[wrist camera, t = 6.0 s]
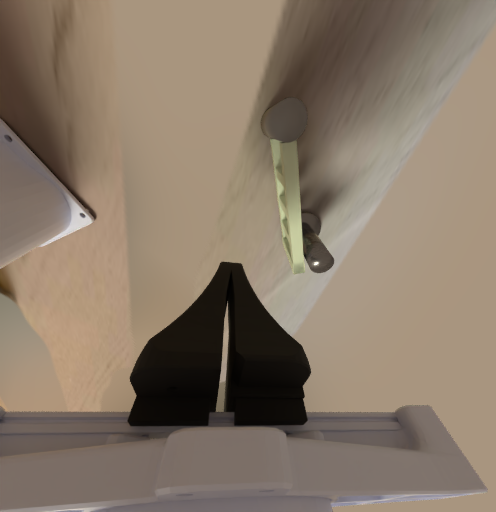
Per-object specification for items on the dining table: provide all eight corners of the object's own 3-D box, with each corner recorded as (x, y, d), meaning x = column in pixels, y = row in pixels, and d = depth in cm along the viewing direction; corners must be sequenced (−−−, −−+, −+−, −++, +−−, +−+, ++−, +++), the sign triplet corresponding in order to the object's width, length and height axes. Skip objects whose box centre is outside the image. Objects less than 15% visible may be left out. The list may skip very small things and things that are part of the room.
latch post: (278, 220, 20) (292, 253, 15) (315, 206, 20) (343, 235, 14) (288, 248, 22) (303, 286, 17) (321, 237, 22) (348, 273, 16)
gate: (259, 111, 15) (268, 102, 10) (284, 104, 15) (306, 92, 10) (278, 243, 22) (289, 278, 17) (295, 240, 21) (311, 274, 16)
